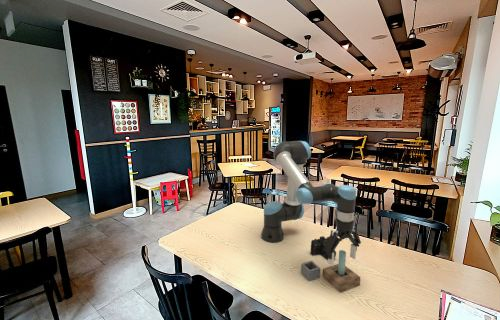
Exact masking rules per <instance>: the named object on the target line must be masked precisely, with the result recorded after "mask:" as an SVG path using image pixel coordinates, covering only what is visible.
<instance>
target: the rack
mask: <svg viewBox="0 0 500 320" xmlns="http://www.w3.org/2000/svg"><path fill="white" fill-rule="evenodd" d="M321 274H322V278H323V279H325V281H327V283H329V284H330V285H331V286H332V287H333V288H334V289H335V290H337V291H338V292H339V294H341V293H343V292H346V291H349V290H351V289H353V288H357V287H359V286H360V285H361V276H360V275H358V274H357V273H356V272H354V271H353V270H352V269H350V268H349V267H348V266H346V265H345V273H344V276H343V277H340V276H339V275H338V263H337V264H334V265H333V266H331V265H330V266H327V267H324V268H322V273H321Z"/></svg>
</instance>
